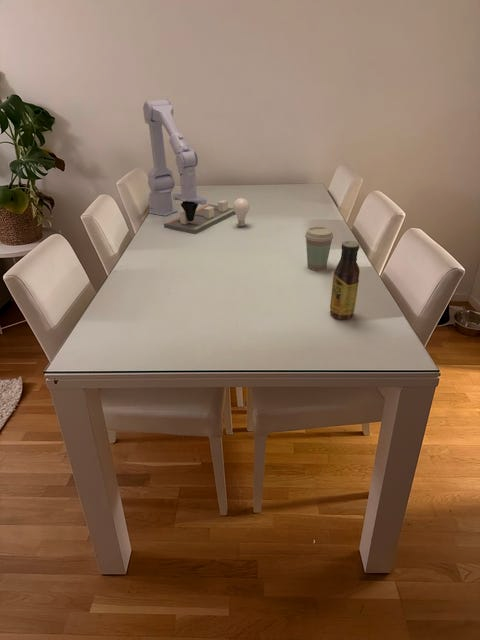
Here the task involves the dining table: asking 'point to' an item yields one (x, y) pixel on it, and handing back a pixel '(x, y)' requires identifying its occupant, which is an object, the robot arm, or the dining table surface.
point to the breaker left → (223, 206)
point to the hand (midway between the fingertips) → (190, 220)
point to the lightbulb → (241, 210)
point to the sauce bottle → (345, 282)
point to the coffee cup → (318, 247)
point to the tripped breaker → (183, 218)
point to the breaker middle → (209, 212)
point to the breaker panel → (200, 220)
